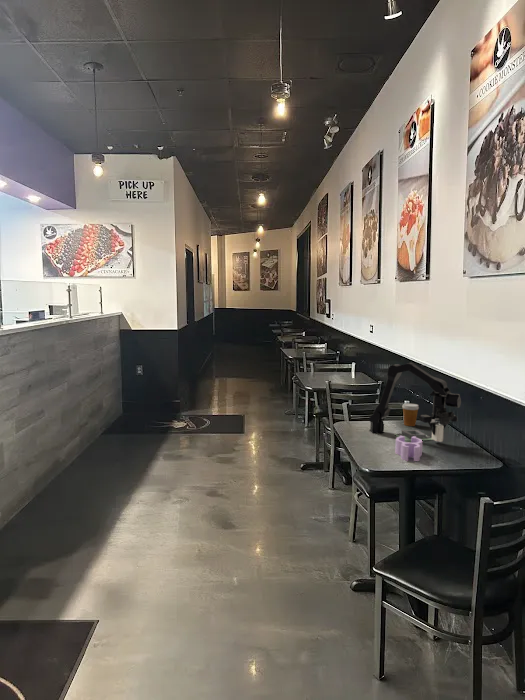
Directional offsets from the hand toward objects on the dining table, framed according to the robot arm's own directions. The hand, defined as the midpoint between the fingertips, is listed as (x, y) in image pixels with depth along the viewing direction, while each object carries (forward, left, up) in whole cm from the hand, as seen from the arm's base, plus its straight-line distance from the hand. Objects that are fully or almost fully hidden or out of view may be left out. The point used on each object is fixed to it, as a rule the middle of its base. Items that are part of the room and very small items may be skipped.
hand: (437, 434), depth 278 cm
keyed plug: (0, 0, -3) cm, 3 cm away
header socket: (-7, +12, -5) cm, 15 cm away
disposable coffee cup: (+4, +38, -5) cm, 39 cm away
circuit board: (-7, +12, -5) cm, 15 cm away
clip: (-24, -16, -5) cm, 29 cm away
